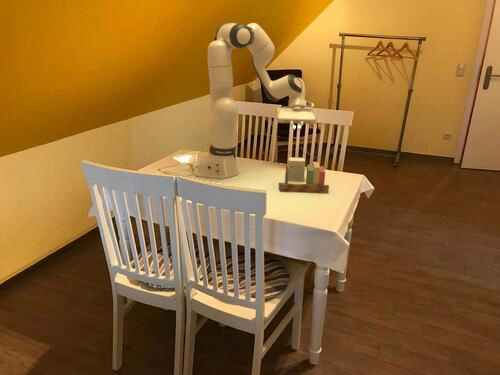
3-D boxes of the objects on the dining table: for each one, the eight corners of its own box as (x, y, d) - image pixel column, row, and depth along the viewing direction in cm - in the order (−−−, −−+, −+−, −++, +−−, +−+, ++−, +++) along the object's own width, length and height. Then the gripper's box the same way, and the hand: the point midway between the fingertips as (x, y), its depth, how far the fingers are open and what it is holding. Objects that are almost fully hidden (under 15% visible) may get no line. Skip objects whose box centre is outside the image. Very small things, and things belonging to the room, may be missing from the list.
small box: (303, 177, 210) (305, 157, 207) (304, 181, 205) (305, 161, 201) (287, 177, 211) (288, 156, 207) (287, 181, 206) (288, 160, 202)
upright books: (307, 191, 194) (308, 167, 189) (305, 184, 201) (307, 161, 197) (323, 191, 193) (325, 167, 189) (321, 185, 201) (323, 162, 197)
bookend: (278, 190, 194) (279, 171, 191) (278, 183, 202) (279, 165, 199) (287, 190, 194) (288, 172, 191) (287, 184, 202) (287, 166, 199)
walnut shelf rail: (279, 191, 193) (280, 184, 192) (279, 190, 194) (280, 183, 193) (328, 193, 192) (329, 186, 190) (328, 192, 193) (328, 184, 192)
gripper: (277, 102, 218) (276, 125, 212) (317, 103, 217) (317, 126, 211) (276, 109, 224) (276, 132, 218) (315, 110, 223) (315, 133, 217)
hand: (296, 129), depth 215 cm, fingers closed
